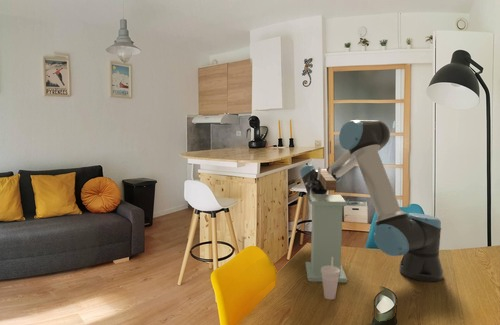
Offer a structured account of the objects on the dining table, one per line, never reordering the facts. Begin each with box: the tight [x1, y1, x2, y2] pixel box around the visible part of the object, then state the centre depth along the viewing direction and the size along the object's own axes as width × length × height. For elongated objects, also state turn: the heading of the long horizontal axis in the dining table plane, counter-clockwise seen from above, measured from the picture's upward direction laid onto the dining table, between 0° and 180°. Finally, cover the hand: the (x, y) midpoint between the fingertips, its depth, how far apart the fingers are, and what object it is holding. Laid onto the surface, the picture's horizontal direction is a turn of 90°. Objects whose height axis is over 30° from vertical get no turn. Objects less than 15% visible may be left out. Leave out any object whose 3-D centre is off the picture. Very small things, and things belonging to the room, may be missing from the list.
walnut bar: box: [319, 170, 337, 192], centre depth 132 cm, size 26×4×4 cm, turn 175°
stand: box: [305, 194, 348, 284], centre depth 131 cm, size 14×14×30 cm
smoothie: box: [321, 257, 340, 300], centre depth 115 cm, size 6×6×14 cm
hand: (325, 170), depth 135 cm, fingers closed on walnut bar, 3 cm apart
